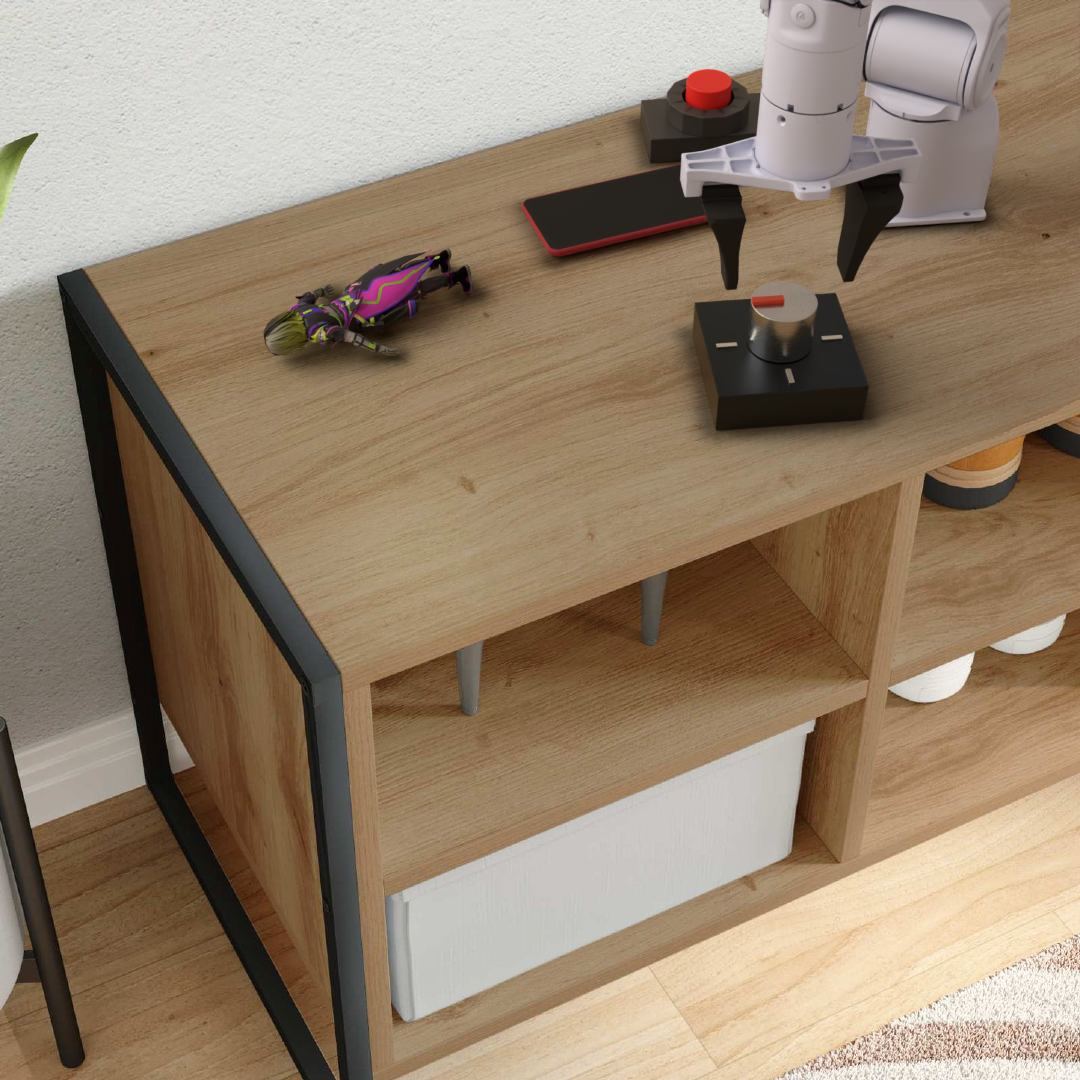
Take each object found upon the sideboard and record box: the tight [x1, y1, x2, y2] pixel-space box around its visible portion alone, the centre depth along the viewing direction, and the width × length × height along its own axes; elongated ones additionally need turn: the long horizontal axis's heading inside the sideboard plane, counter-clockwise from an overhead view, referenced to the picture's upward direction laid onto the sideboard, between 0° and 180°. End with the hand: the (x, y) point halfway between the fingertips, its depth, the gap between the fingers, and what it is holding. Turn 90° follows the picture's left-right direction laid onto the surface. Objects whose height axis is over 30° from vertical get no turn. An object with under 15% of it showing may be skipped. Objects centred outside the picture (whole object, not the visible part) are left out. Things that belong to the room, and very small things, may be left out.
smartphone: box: [521, 163, 708, 258], centre depth 122 cm, size 7×1×15 cm
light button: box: [686, 68, 732, 110], centre depth 126 cm, size 4×4×2 cm
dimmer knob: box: [747, 280, 818, 363], centre depth 105 cm, size 4×4×4 cm
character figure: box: [263, 247, 474, 357], centre depth 112 cm, size 9×4×16 cm
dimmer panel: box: [692, 292, 870, 431], centre depth 108 cm, size 10×10×3 cm
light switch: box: [639, 76, 761, 164], centre depth 128 cm, size 10×6×4 cm, turn 95°
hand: (787, 276), depth 103 cm, fingers open, 7 cm apart
